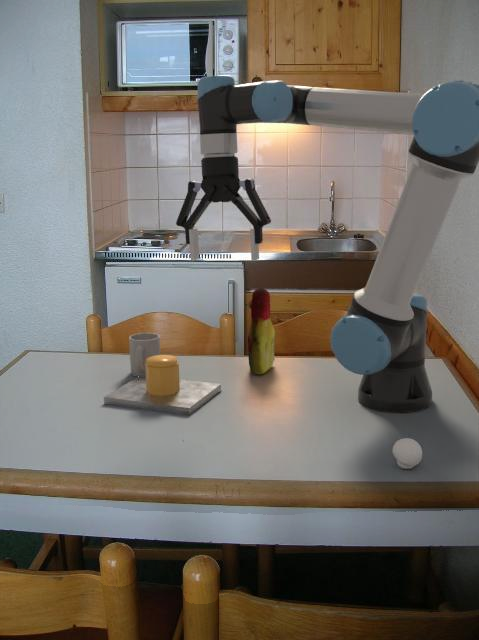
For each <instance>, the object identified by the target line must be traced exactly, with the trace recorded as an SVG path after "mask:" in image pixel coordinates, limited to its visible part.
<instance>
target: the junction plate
mask: <svg viewBox="0 0 479 640" xmlns="http://www.w3.org/2000/svg"><path fill="white" fill-rule="evenodd" d="M179 383H180V390H179V391H178V392H176V393H175V394H171V395H164V396H159V395H151V394H149V393H148V392H147V387H146V376H145V375H141V376H139V377H138V376H136V378H134V379H132V380H131V381H129V382H127V383H126V384H124V385H122V386H120V387H118V388H117V389H115V390H114V391H112V392H110V393H108V394H107V395H105V396H103V404H104V405H109V406H110V405H111V406H118V407H125V408H127V407H128V408H134V409H141V410H149V411H154V412H155V411H158V412H164V413H165V412H166V413H171V414H172V413H173V414H179V415H186V416H190V415H191V414H193V413H194V412H195V411H197V410H198V409H199V408H200V407H202V406H203V405H204V404H206V403H207V402H208V401H209V400H211V399H212V398H213V397H215V396H216V395H218V394H219V393H220V392H221V391H222V384H221V383H214V382H206V381H205V382H204V381H197V380H187V379H180V378H179Z"/></svg>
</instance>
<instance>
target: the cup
mask: <svg viewBox="0 0 479 640" xmlns="http://www.w3.org/2000/svg"><path fill="white" fill-rule="evenodd" d="M128 338H129V340H128V341H129V342H128V343H129V358H130V359H129V361H130V362H129V363H130V372H131V374H132V375H133V376H134V375H135V377H138V376H141V375H145V376H146V367H145V364H146V359H147V358H149V357H152V356H156V355H162V354H161V335H160V334H158V333H153V332H141V333H134V334H131V335H129V337H128Z"/></svg>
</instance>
